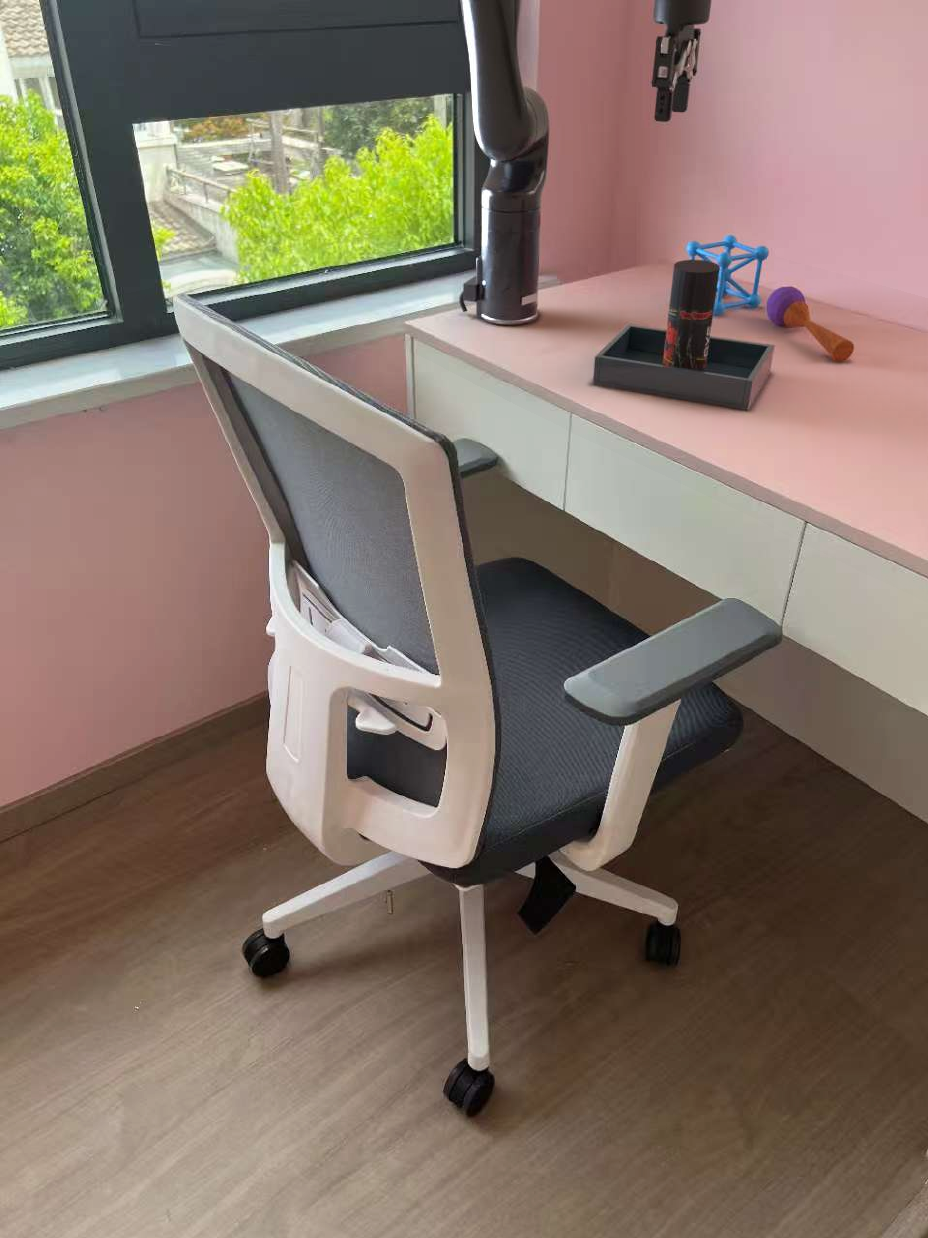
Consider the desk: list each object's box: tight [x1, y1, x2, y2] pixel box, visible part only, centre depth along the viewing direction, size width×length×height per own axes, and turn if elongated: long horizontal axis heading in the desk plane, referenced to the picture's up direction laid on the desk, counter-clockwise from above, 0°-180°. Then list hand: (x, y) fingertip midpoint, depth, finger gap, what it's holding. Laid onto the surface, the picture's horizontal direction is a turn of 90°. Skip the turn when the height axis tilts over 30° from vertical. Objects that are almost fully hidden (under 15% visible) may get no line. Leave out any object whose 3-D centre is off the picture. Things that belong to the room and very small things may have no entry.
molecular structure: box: [686, 234, 770, 316], centre depth 163 cm, size 10×10×10 cm
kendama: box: [765, 285, 855, 363], centre depth 150 cm, size 6×6×20 cm
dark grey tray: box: [592, 324, 776, 411], centre depth 138 cm, size 22×15×4 cm
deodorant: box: [663, 259, 721, 372], centre depth 135 cm, size 6×6×15 cm
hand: (670, 116), depth 141 cm, fingers open, 8 cm apart
